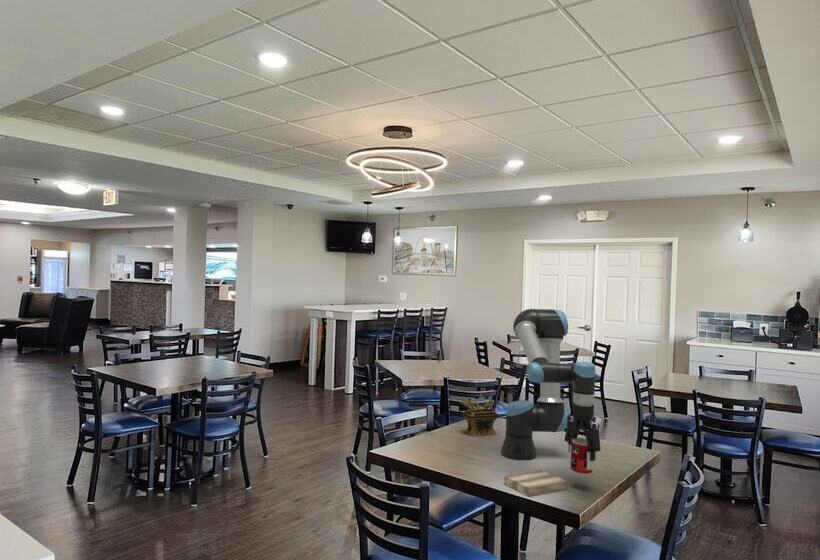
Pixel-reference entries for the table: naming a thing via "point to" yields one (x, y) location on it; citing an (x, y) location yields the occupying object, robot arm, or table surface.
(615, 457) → the table surface
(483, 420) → the decorative box
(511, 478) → the pale wooden plank
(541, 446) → the table surface
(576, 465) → the canned food
